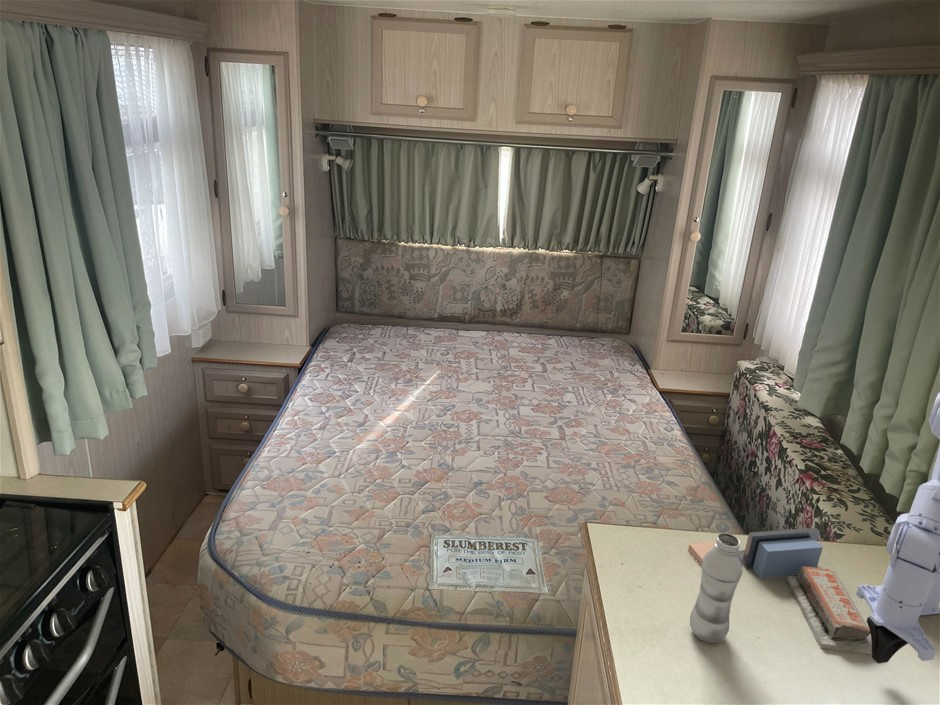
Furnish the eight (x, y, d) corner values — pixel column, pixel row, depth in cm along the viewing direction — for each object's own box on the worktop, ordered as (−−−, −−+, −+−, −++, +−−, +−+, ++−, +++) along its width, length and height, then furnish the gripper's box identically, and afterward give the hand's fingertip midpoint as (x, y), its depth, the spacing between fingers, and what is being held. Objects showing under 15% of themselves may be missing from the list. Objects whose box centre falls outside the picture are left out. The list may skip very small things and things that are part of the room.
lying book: (721, 548, 144) (723, 540, 144) (735, 563, 140) (737, 555, 139) (687, 552, 143) (689, 544, 142) (700, 567, 138) (702, 559, 137)
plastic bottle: (701, 651, 117) (724, 555, 109) (679, 622, 123) (700, 529, 115) (734, 645, 118) (758, 550, 111) (711, 617, 124) (733, 525, 117)
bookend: (798, 548, 145) (806, 518, 142) (810, 561, 141) (819, 531, 138) (733, 553, 142) (741, 523, 139) (744, 567, 138) (752, 536, 136)
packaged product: (790, 561, 134) (842, 566, 133) (784, 581, 136) (836, 586, 135) (826, 629, 117) (886, 636, 117) (819, 651, 119) (878, 657, 118)
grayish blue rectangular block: (805, 564, 141) (813, 537, 138) (814, 573, 138) (822, 547, 135) (752, 568, 138) (759, 541, 136) (760, 578, 136) (768, 551, 133)
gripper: (849, 565, 114) (829, 629, 119) (917, 630, 101) (891, 699, 106) (886, 562, 115) (864, 625, 120) (958, 626, 102) (930, 693, 107)
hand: (879, 659), depth 113 cm, fingers closed
